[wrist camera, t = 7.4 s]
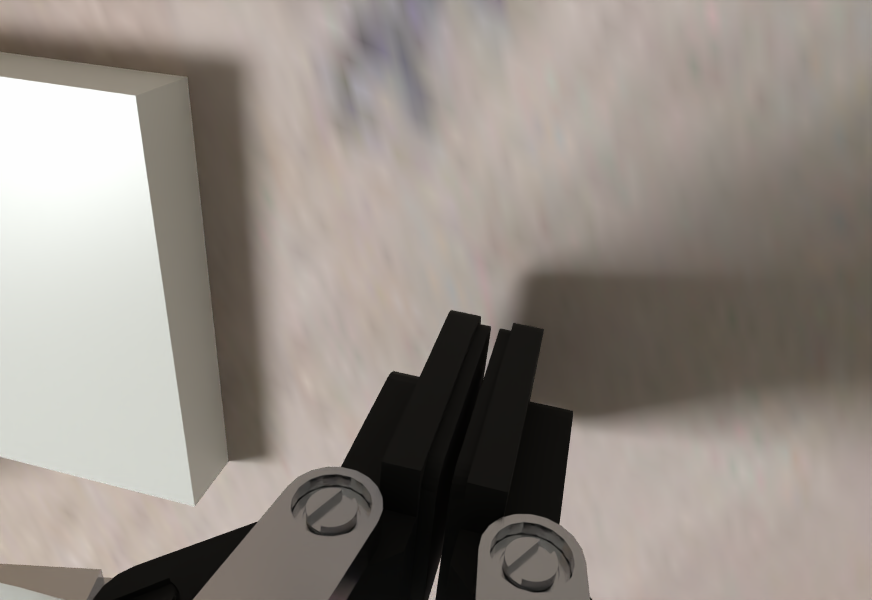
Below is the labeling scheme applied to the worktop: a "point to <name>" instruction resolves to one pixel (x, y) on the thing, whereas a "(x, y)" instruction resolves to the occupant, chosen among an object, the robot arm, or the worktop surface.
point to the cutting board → (105, 280)
